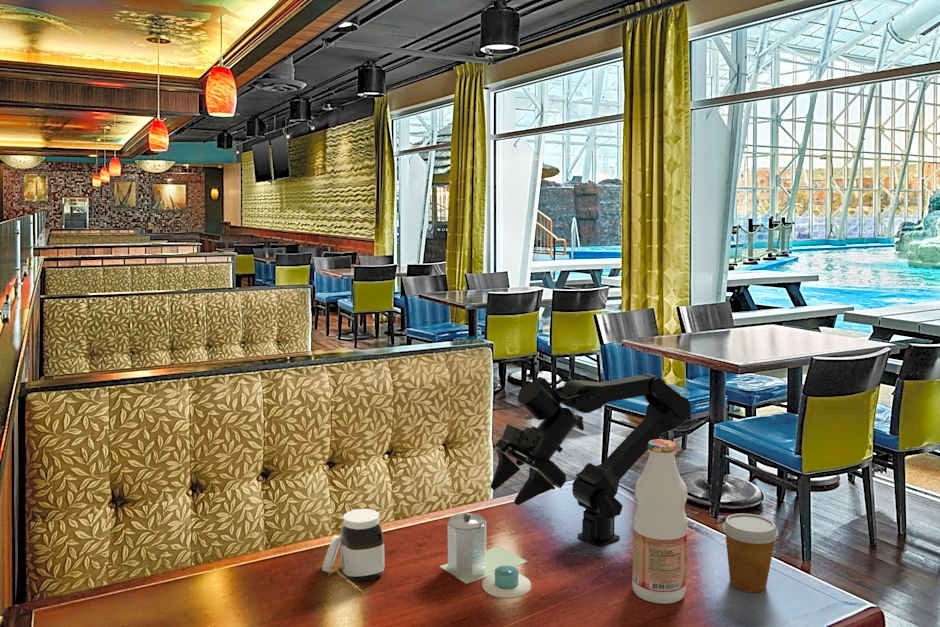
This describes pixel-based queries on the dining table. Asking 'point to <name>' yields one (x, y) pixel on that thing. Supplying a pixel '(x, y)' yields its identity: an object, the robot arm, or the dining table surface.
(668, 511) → the fruit juice
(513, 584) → the teal puck on dish
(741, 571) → the disposable coffee cup
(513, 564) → the sage placemat
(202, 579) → the dining table surface
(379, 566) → the spread jar
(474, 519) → the grey metal canister
